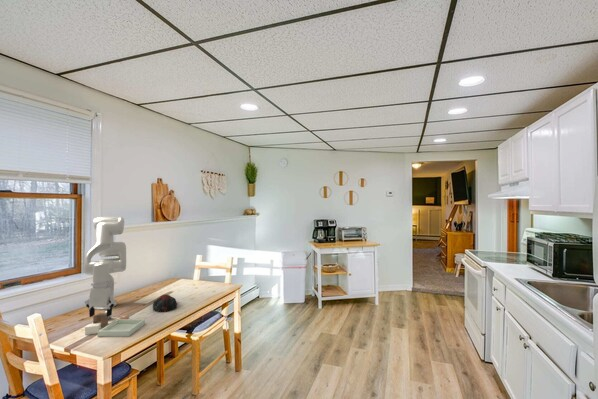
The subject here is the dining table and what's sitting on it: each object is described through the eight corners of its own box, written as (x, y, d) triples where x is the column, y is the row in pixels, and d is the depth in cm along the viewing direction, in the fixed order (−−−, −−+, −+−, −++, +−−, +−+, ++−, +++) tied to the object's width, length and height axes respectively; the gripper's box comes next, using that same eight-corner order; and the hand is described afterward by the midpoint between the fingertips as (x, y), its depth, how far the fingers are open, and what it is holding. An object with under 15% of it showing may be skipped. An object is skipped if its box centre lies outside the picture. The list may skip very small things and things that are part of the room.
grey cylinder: (102, 320, 173) (102, 312, 174) (106, 318, 177) (106, 309, 178) (108, 320, 173) (108, 312, 174) (113, 318, 177) (113, 309, 178)
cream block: (84, 335, 155) (85, 327, 155) (87, 331, 158) (87, 324, 158) (98, 333, 157) (98, 325, 157) (100, 330, 160) (100, 322, 160)
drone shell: (167, 313, 185) (167, 300, 185) (141, 311, 189) (141, 298, 189) (187, 302, 205) (187, 291, 206) (163, 300, 210) (163, 289, 210)
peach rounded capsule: (118, 322, 170) (118, 317, 170) (123, 319, 175) (123, 314, 175) (126, 322, 170) (126, 317, 170) (130, 319, 175) (130, 314, 175)
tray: (97, 336, 152) (97, 331, 152) (117, 323, 168) (117, 319, 168) (128, 336, 152) (128, 331, 152) (145, 323, 168) (145, 319, 168)
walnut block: (93, 327, 164) (93, 316, 164) (99, 323, 169) (99, 313, 169) (102, 327, 164) (102, 316, 164) (108, 323, 169) (108, 313, 169)
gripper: (80, 287, 163) (80, 318, 162) (111, 286, 163) (111, 318, 162) (90, 283, 171) (90, 313, 170) (120, 283, 170) (120, 313, 170)
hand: (100, 315), depth 166 cm, fingers open, 9 cm apart
